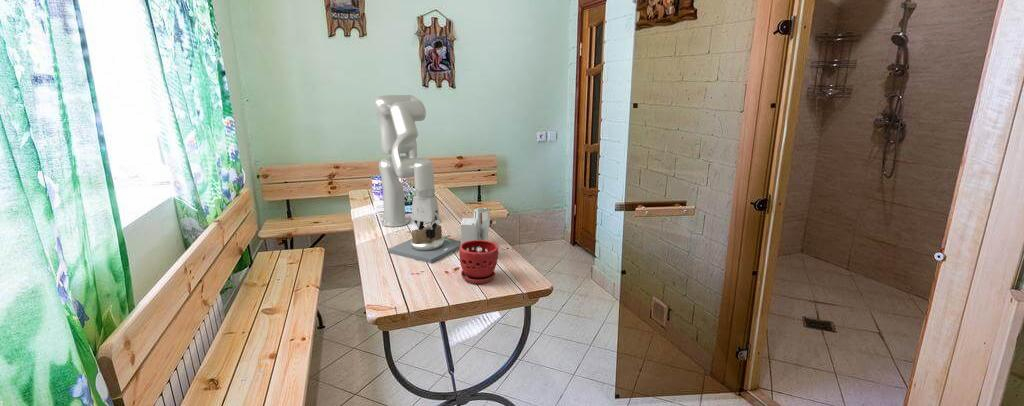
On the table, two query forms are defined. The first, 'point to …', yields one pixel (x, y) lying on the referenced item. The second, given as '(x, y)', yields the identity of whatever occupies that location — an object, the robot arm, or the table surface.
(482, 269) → the plant pot
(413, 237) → the tuning dial
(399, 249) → the dial plate
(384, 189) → the robot arm
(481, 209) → the beer glass
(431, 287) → the table surface
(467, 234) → the skincare box
